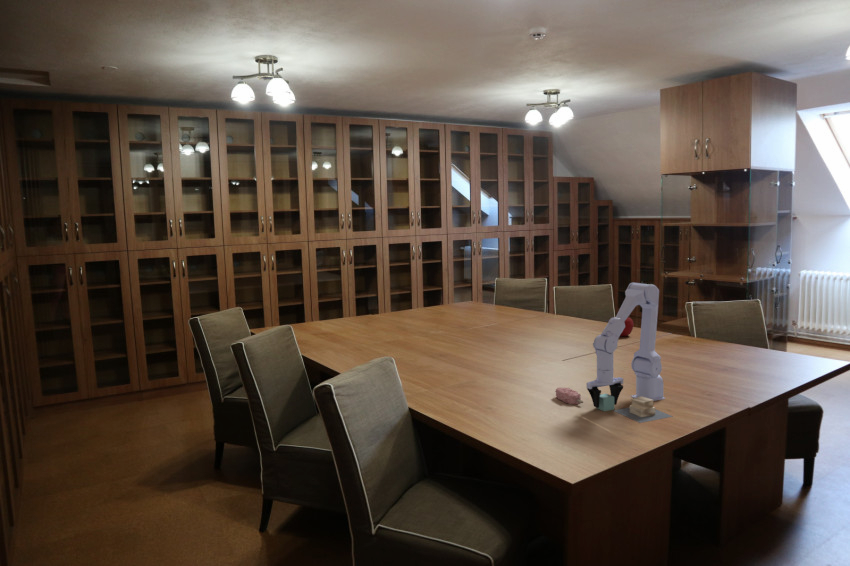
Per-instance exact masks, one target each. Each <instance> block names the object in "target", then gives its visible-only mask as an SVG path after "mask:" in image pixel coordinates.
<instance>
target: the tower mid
mask: <svg viewBox="0 0 850 566" xmlns="http://www.w3.org/2000/svg"><path fill="white" fill-rule="evenodd" d="M631 405H632V406H633V407H636V408H640V409H643V410H644V409H648V408H651V407H654V401H653V400H652V399H649V398H645V397H642V396H641V397H637V398H631Z"/></svg>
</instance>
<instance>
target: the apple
mask: <svg viewBox="0 0 850 566" xmlns="http://www.w3.org/2000/svg"><path fill="white" fill-rule="evenodd" d="M624 323H625V328H624V330H623V331H622V333H621V334H620V336H619V337H627V336H629V335H630V334H631V333H632V331H633V329H634V325H635V324H634V321H633V319H632V318H631V317H630V316H628V317H627V319H626V320H625V321H624Z"/></svg>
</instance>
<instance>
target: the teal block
mask: <svg viewBox="0 0 850 566" xmlns="http://www.w3.org/2000/svg"><path fill="white" fill-rule="evenodd" d="M597 410H600V411H603V412H608V411H613V410H615V405H614V397H613V396H611V394H608V393H602V394H600V399H599V408H597Z"/></svg>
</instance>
